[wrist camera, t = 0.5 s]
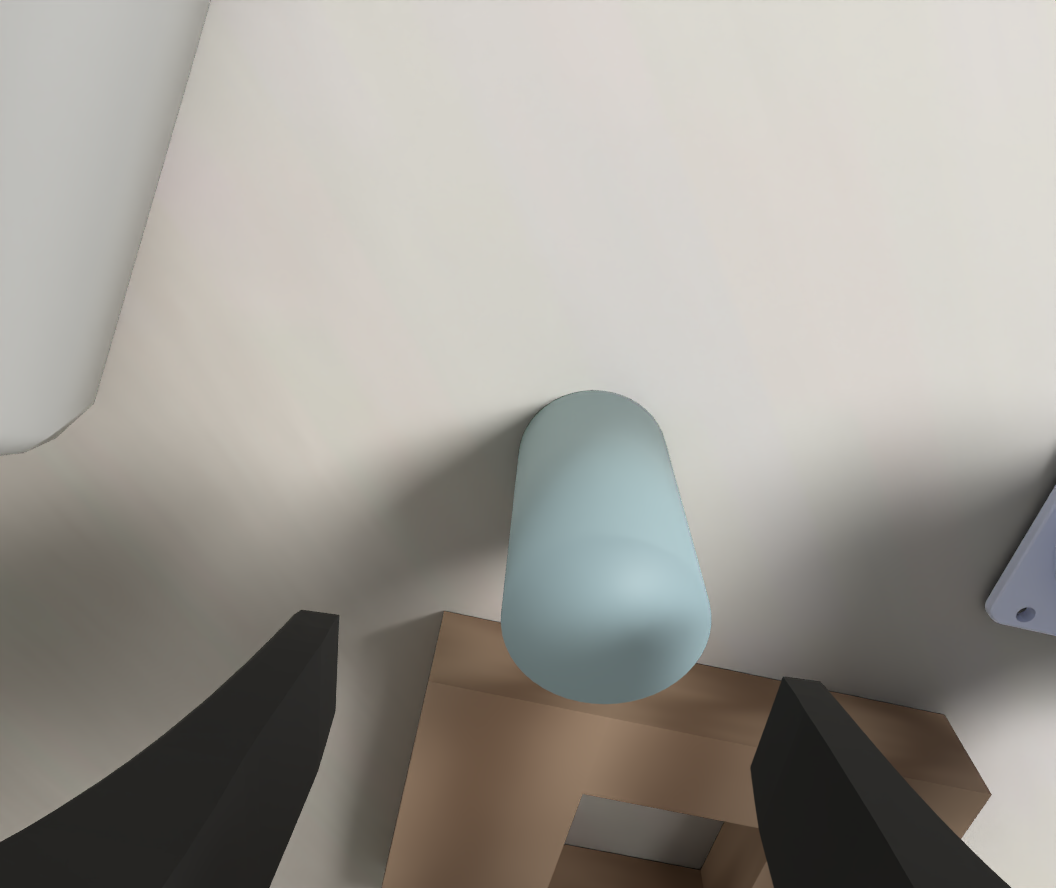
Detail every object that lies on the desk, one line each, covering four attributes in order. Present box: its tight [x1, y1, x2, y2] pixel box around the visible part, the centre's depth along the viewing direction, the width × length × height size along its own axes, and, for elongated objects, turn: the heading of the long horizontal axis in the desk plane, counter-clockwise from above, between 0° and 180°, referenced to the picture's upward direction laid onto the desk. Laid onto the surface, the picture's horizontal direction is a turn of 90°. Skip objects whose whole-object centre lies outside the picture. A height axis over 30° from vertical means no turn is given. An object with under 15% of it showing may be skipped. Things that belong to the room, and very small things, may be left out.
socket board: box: [382, 611, 992, 888], centre depth 25 cm, size 16×12×3 cm
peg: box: [501, 390, 711, 704], centre depth 18 cm, size 4×4×7 cm
